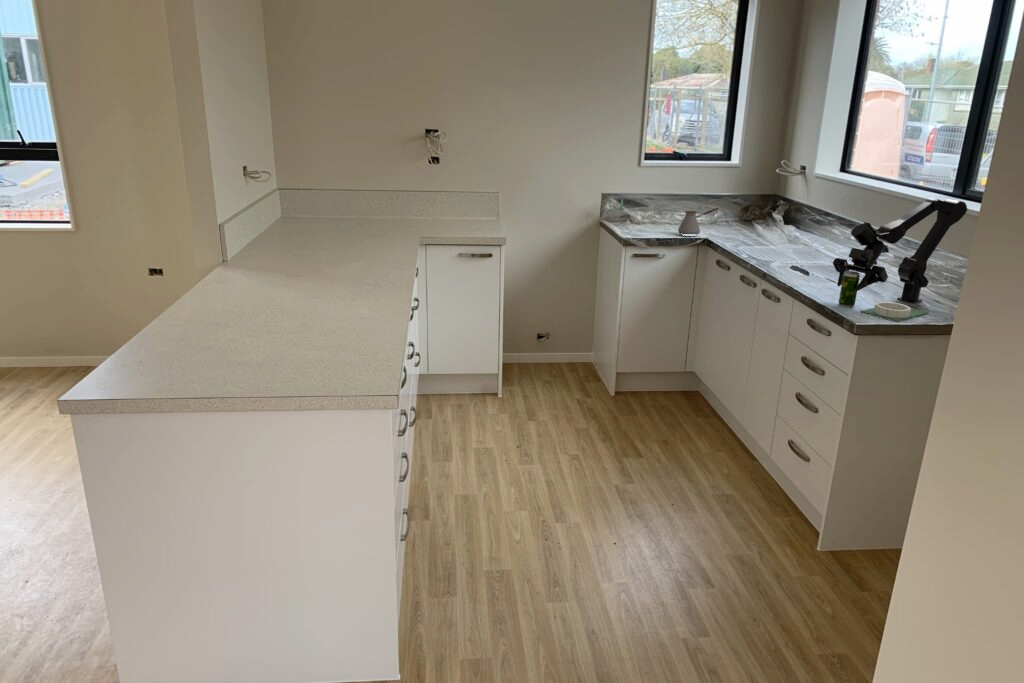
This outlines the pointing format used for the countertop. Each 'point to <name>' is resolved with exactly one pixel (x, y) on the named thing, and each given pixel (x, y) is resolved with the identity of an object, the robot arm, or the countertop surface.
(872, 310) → the putting mat
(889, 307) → the cup
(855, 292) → the beer can
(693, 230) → the coffee pot
